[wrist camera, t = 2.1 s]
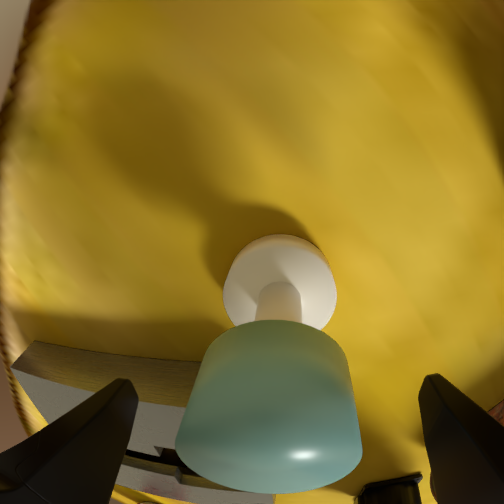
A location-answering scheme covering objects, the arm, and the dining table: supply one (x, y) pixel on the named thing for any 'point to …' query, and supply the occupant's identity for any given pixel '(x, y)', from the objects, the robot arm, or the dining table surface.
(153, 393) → the keyhole plate
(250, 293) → the peg
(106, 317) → the dining table surface
